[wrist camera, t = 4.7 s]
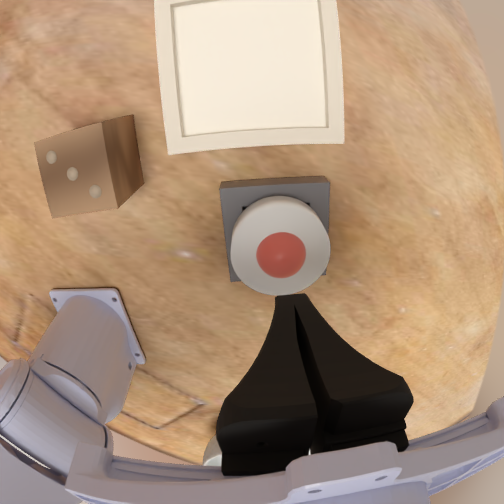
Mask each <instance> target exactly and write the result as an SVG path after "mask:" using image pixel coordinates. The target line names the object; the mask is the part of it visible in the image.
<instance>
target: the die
mask: <svg viewBox="0 0 504 504" xmlns="http://www.w3.org/2000/svg"><path fill="white" fill-rule="evenodd" d="M34 145H35V150H36V155H37V160H38V165H39V169H40V174H41V178H42V182H43V186H44V190H45V194H46V198H47V202H48V205H49V209H50V212H51V216H52V219H53V218H59V217H65V216H71V215H77V214H84V213H90V212H97V211H104V210H111V209H118V208H119V207H120V206H121V205H122V204H123V203H124V202H125V201H126V200H127V199H128V198H129V197H130V196H131V195H132V194H133V193H134V192H135V191H136V190H138V189H139V188H140V187H141V186H142V185H143V184H144V180H143V175H142V169H141V163H140V157H139V151H138V145H137V138H136V131H135V124H134V117H133V115H129V116H124V117H120V118H115V119H111V120H107V121H103V122H99V123H96V124H92V125H88V126H85V127H81V128H78V129H74V130H71V131H68V132H64V133H61V134H58V135H55V136H52V137H49V138H46V139H43V140H40V141H37V142H35V143H34Z"/></svg>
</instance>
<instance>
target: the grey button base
mask: <svg viewBox="0 0 504 504" xmlns="http://www.w3.org/2000/svg"><path fill="white" fill-rule="evenodd" d="M219 190H220V199H221V207H222V216H223V224H224V233H225V241H226V249H227V257H228V265H229V273H230V281H231V282H235V281H241V280H240V279H239V277H238V276H237V274H236V273H235V271H234V269H233V266H232V262H231V254H230V252H231V242H232V232H233V228H234V225H235V223H236V221H237V219H238V217H239V216H240V215H241V213H242V212H243V211H244V210H245V209H246V208H247V207H248V206H250V205H251V204H253V203H254V202H256V201H258V200H261V199H263V198H267V197H271V196H288V197H292V198H296V199H298V200H301V201H302V202H304V203H306V204H307V205H309V206H310V207H311V208H312V209H313V210H314V211H315V212H316V214H317V215H318V217H319V219H320V221H321V222H322V224H323V226H324V228H325V230H326V232H327V234H328V228H329V197H330V182H329V181H328V180H327V179H326V178H325V177H324V176H309V177H286V178H268V179H253V180H239V181H227V182H221V185H220V189H219ZM322 275H326V269H325V270H324V272H323V273H322Z"/></svg>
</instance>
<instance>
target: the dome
mask: <svg viewBox="0 0 504 504" xmlns="http://www.w3.org/2000/svg"><path fill="white" fill-rule="evenodd" d="M330 252H331V248H330V240H329V237H328V234H327V232H326V230H325V228H324V226H323V224H322V222H321V221H320V219H319V217H318V215H317V214H316V212H315V211H314V210H313V209H312V208H311V207H310V206H309V205H307V204H306V203H304V202H302V201H301V200H298V199H296V198H292V197H288V196H271V197H267V198H263V199H261V200H258V201H256V202H254V203H253V204H251V205H250V206H248V207H247V208H246V209H245V210H244V211H243V212H242V213H241V215H240V216H239V217H238V219H237V221H236V223H235V225H234V228H233V232H232V242H231V252H230V254H231V262H232V266H233V269H234V271H235V273H236V274H237V276H238V277H239V279H240V280H241V281H242V282H243V283H244V284H246V285H247V286H248V287H250V288H251V289H253V290H255V291H257V292H260V293H263V294H268V295H276V296H277V295H289V294H293V293H296V292H299V291H301V290H303V289H305V288H307V287H309V286H310V285H312V284H313V283H314V282H315V281H316V280H317V279H318V278H319V277H320V276H321V275H322V273H323V272H324V270H325V269H326V267H327V264H328V262H329V258H330Z"/></svg>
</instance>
